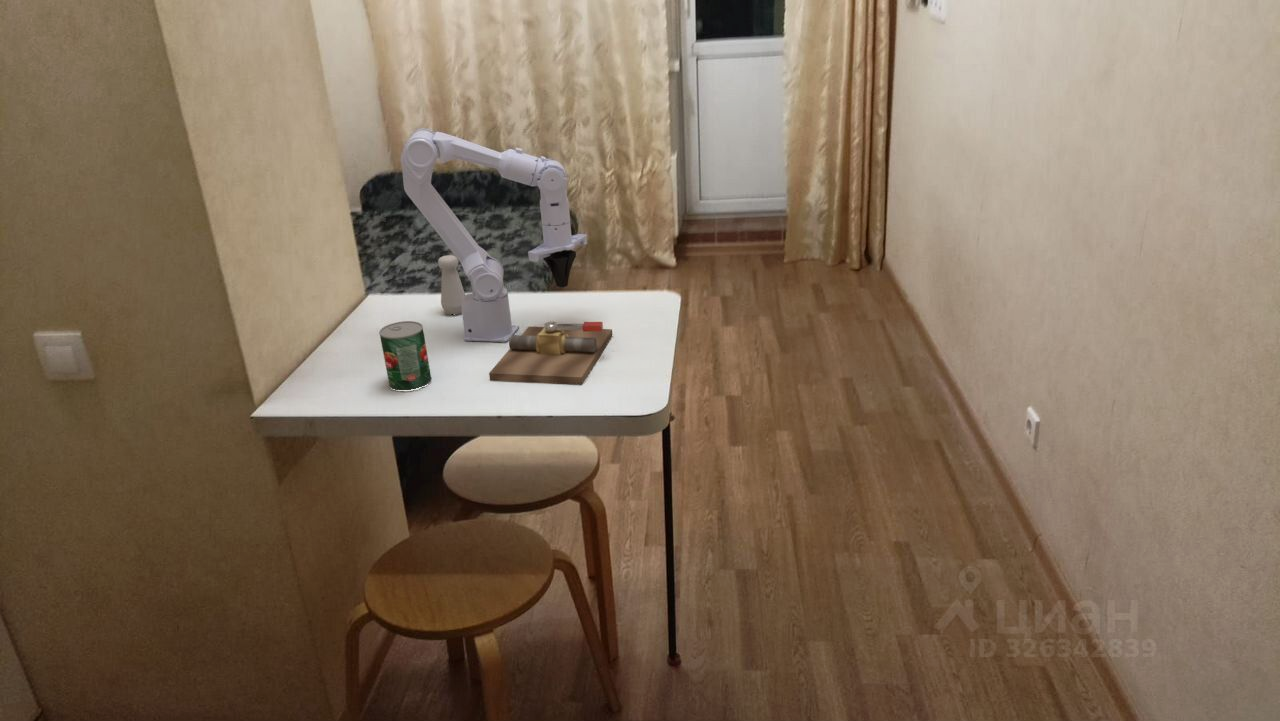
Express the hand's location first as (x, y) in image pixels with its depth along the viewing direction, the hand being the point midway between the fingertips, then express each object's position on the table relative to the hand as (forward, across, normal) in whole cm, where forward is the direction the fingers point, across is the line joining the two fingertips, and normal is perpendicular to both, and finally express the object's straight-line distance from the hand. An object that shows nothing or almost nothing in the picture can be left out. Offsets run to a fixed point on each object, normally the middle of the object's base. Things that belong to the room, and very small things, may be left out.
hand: (562, 285), depth 191 cm
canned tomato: (+10, -36, +5) cm, 38 cm away
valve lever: (+4, -9, -13) cm, 16 cm away
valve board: (+9, -12, -9) cm, 18 cm away
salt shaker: (+10, -8, +28) cm, 30 cm away
